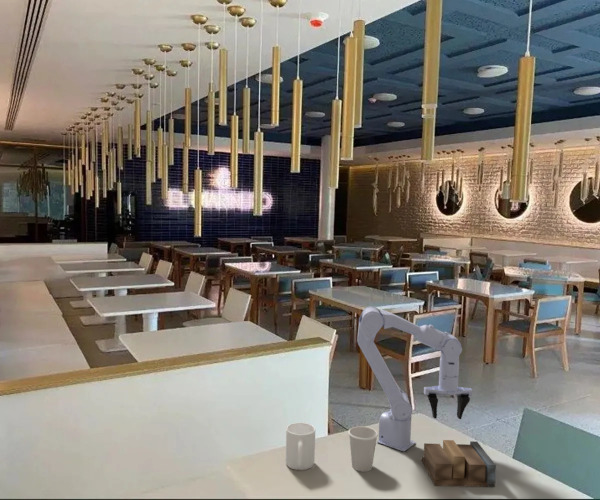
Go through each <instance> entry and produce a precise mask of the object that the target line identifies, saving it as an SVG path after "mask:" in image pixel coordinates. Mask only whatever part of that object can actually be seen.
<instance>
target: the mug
mask: <svg viewBox="0 0 600 500" xmlns="http://www.w3.org/2000/svg"><path fill="white" fill-rule="evenodd" d="M285 434H286V435H285V465H286V466H287V467H288V468H289V469H291V470H295V471H305V470H310V469H311V468H312V467H313V466H314V464H315V461H316V460H315V459H316V457H315V456H316V455H315V454H316V451H315V450H316V427H315V426H314V425H312V424H310V423H305V422H293V423H290V424H288V425H287V426H286V430H285Z"/></svg>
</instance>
